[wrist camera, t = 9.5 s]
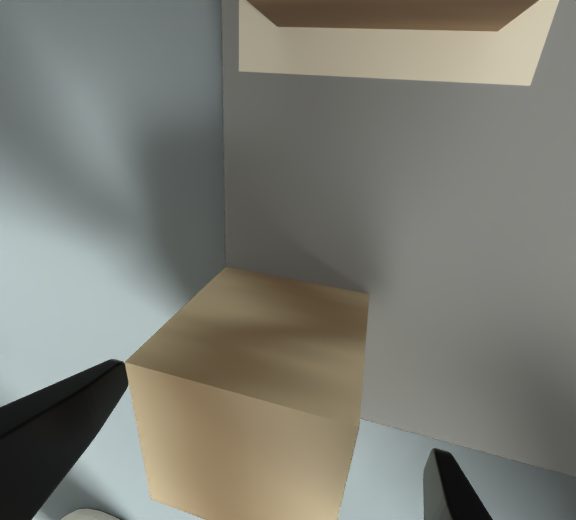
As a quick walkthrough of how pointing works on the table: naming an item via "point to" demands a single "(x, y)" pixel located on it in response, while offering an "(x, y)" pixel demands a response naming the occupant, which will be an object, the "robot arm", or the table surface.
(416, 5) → the block
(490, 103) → the board
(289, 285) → the block
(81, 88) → the table surface
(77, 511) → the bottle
